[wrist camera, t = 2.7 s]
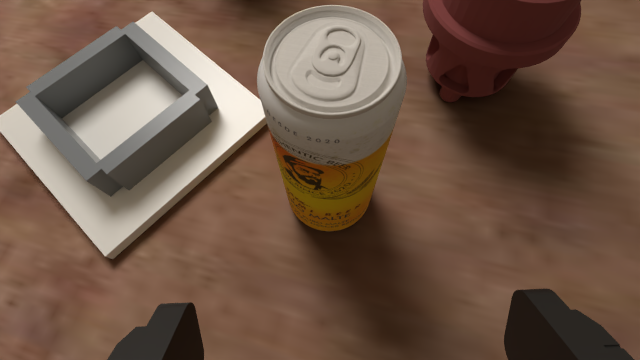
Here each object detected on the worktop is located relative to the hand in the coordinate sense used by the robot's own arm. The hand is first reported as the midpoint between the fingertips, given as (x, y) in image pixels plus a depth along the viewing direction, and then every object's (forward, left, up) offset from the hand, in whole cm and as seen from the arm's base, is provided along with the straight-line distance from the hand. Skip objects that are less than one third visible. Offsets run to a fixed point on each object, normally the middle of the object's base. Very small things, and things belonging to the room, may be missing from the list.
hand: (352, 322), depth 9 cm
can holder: (-1, -23, -16) cm, 28 cm away
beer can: (-7, -7, -16) cm, 19 cm away
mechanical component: (-23, -6, -16) cm, 28 cm away
